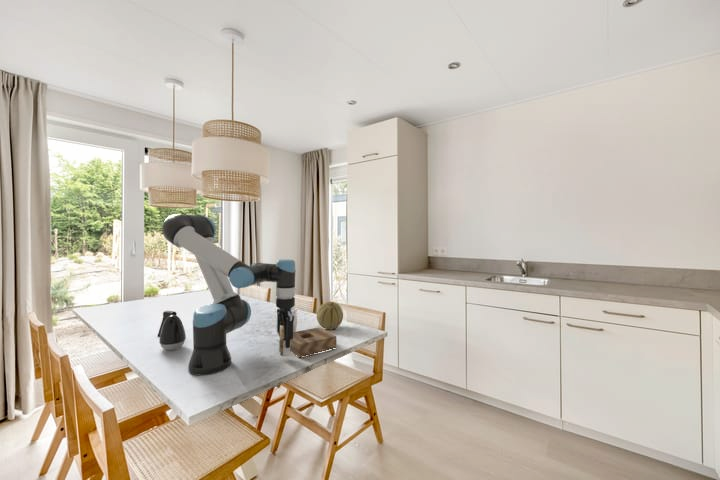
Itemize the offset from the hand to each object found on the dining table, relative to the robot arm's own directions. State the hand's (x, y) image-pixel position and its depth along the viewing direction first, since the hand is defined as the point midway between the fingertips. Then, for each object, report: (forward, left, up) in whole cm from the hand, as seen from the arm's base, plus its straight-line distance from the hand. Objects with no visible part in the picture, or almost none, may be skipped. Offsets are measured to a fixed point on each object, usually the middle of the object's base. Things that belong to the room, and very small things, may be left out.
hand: (284, 352), depth 128 cm
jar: (+9, +22, -3) cm, 25 cm away
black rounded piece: (-38, +62, -3) cm, 73 cm away
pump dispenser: (-38, +39, -3) cm, 55 cm away
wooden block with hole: (+14, +5, -3) cm, 16 cm away
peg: (0, 0, -1) cm, 1 cm away
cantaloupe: (+35, +25, -3) cm, 44 cm away
